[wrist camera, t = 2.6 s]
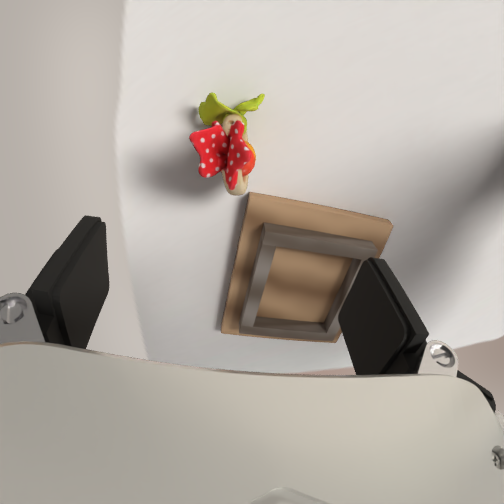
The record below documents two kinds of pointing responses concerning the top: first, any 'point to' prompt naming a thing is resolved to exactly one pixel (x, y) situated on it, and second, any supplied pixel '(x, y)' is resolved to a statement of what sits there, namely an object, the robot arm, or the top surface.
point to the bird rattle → (225, 142)
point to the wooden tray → (297, 268)
